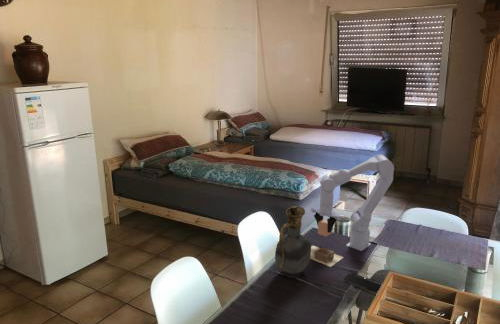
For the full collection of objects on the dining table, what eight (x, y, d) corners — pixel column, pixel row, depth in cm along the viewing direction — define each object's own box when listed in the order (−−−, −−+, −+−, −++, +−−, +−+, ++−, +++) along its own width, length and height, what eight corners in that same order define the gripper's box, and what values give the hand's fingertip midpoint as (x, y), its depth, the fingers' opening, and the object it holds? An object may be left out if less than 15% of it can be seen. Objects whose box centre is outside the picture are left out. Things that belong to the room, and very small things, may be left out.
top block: (323, 230, 189) (323, 218, 188) (331, 233, 187) (332, 221, 185) (317, 233, 186) (318, 221, 185) (326, 236, 183) (326, 224, 182)
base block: (321, 253, 180) (322, 247, 179) (333, 257, 176) (334, 251, 175) (314, 258, 175) (314, 252, 175) (326, 263, 171) (326, 256, 171)
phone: (350, 272, 164) (386, 284, 156) (349, 274, 165) (386, 287, 156) (342, 281, 158) (380, 294, 150) (342, 283, 159) (379, 297, 150)
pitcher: (312, 268, 168) (316, 201, 160) (291, 290, 153) (294, 217, 145) (289, 261, 174) (292, 195, 166) (266, 281, 159) (268, 210, 150)
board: (312, 246, 187) (313, 245, 187) (343, 258, 177) (343, 257, 176) (299, 255, 179) (299, 254, 179) (330, 268, 169) (330, 266, 168)
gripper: (308, 201, 184) (306, 228, 188) (336, 209, 175) (334, 238, 178) (316, 197, 189) (315, 223, 193) (344, 204, 180) (342, 232, 183)
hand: (324, 230), depth 186 cm, fingers closed on top block, 4 cm apart
